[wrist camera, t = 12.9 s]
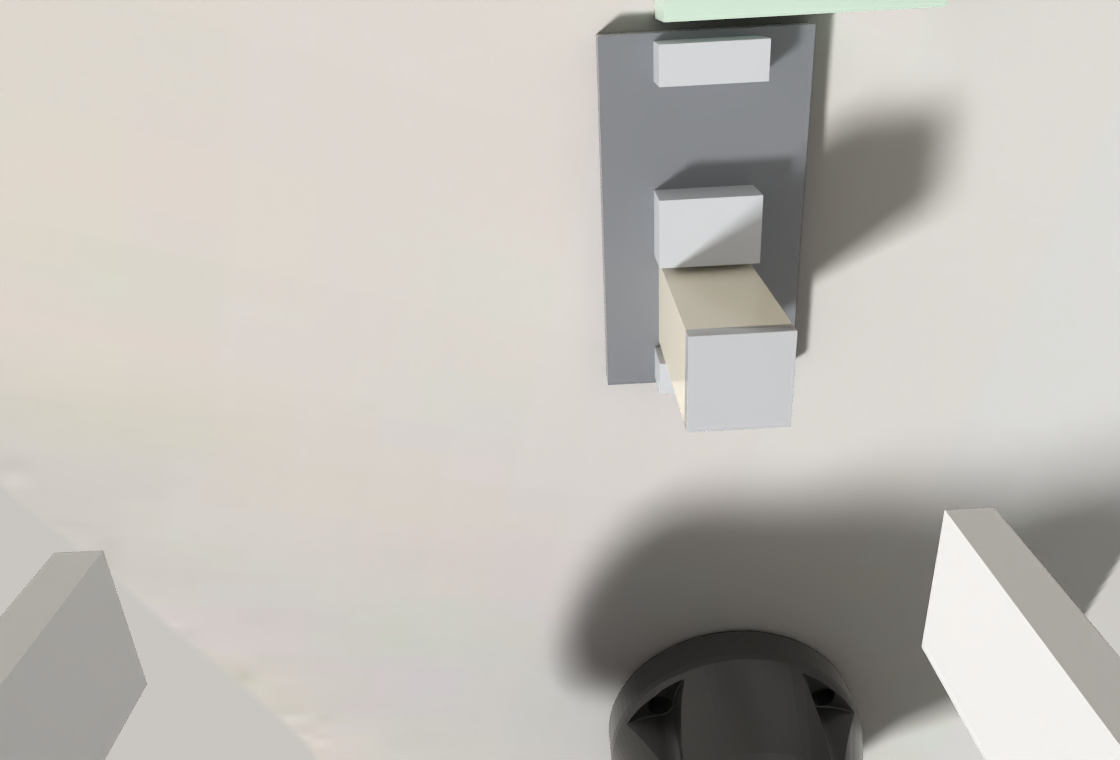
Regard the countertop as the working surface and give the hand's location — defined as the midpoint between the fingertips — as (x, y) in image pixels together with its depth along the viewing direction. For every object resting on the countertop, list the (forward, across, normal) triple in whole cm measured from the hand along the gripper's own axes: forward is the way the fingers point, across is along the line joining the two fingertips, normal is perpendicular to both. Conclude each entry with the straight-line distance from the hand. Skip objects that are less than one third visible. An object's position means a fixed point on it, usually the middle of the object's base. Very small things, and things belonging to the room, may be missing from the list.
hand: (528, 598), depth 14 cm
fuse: (+27, -7, +5) cm, 29 cm away
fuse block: (+29, -7, +2) cm, 30 cm away
